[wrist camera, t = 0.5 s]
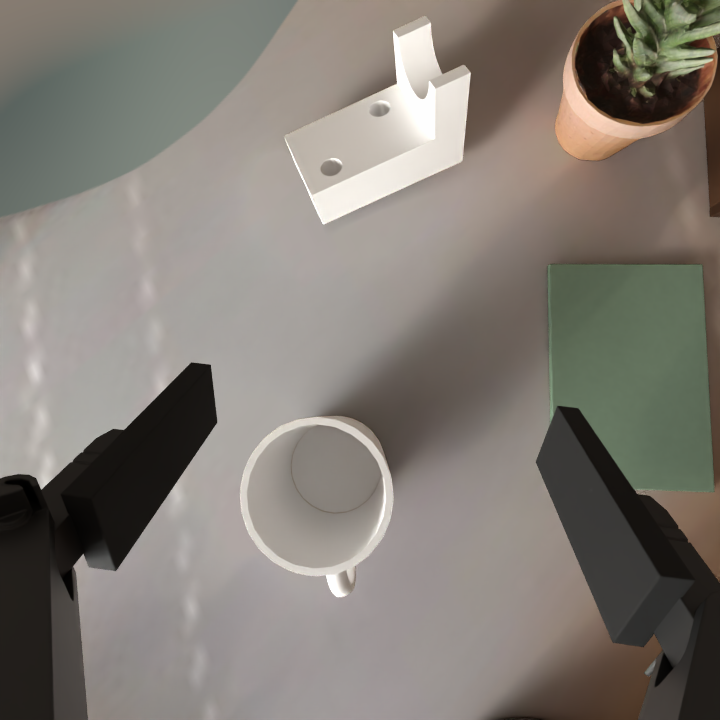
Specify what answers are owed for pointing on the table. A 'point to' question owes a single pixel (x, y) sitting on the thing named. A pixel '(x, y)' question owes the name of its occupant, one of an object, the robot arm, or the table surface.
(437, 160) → the bracket
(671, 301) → the mat
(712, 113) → the holder
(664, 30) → the potted plant
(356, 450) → the mug
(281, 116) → the table surface
